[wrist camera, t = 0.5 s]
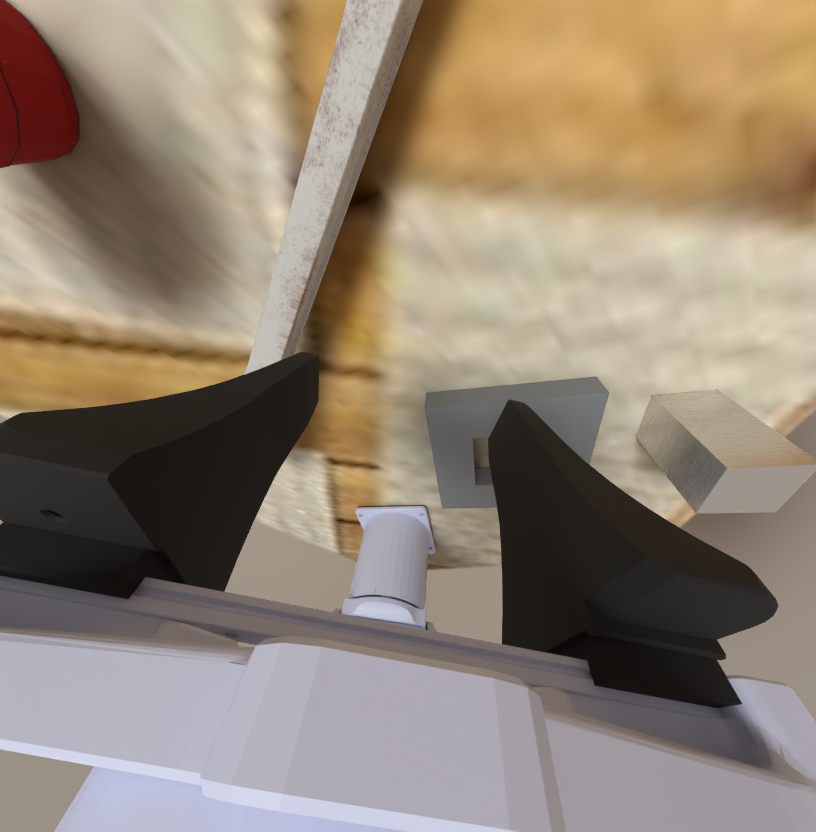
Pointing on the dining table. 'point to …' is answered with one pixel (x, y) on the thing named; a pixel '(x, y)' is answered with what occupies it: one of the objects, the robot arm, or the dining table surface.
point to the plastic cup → (32, 96)
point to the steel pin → (721, 453)
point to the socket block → (477, 416)
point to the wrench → (332, 165)
